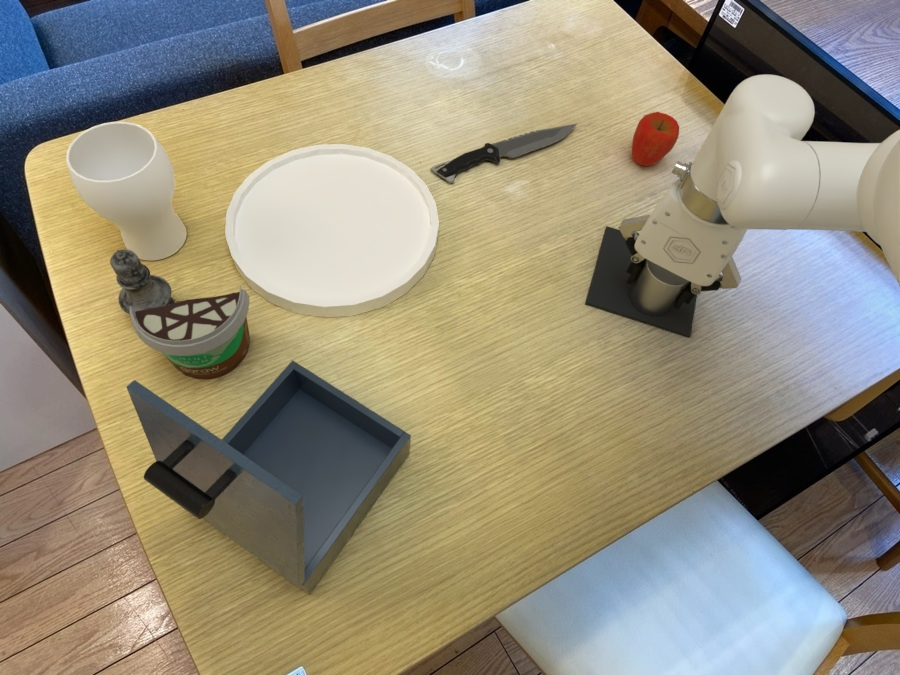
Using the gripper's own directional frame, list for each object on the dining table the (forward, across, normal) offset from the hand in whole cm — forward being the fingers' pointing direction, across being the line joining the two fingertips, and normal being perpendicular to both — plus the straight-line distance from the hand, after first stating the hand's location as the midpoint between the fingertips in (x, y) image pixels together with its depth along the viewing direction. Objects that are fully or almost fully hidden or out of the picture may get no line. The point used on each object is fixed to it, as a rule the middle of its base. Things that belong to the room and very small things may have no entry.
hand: (656, 288), depth 81 cm
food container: (+3, -40, -39) cm, 56 cm away
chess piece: (+3, -50, -38) cm, 63 cm away
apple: (+3, -11, +24) cm, 27 cm away
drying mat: (+3, -2, +3) cm, 4 cm away
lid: (-13, -22, -51) cm, 57 cm away
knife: (+3, -29, +13) cm, 31 cm away
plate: (+3, -41, -15) cm, 43 cm away
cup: (+3, -59, -30) cm, 66 cm away
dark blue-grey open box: (+3, -22, -44) cm, 50 cm away
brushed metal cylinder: (+2, 0, 0) cm, 2 cm away
